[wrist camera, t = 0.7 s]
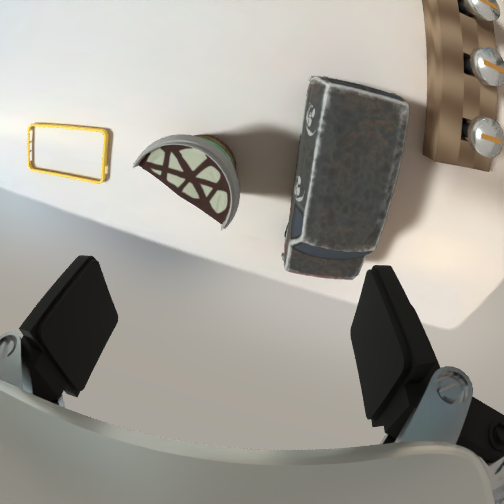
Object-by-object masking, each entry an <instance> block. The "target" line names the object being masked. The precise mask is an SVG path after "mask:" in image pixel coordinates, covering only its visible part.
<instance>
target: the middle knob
mask: <svg viewBox="0 0 504 504" xmlns="http://www.w3.org/2000/svg"><path fill="white" fill-rule="evenodd" d="M464 70H465V71H466V72H467V73H474V75H475V76H476V78H477V79H478V80H479V81H480V82H481V83H483V84H485V85H491V86H501V85H503V84H504V61H503V59H502V57H501V56H500V55H499V53H498V52H497V51H496V50H494V49H493V48H490V47H482V48H475V49H473V51H472V52H471V55H470V59H464Z"/></svg>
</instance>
